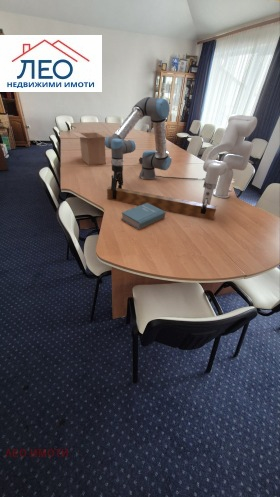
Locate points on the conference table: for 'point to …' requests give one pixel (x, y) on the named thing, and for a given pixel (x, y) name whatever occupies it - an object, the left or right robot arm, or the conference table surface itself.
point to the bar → (162, 203)
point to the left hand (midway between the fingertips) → (117, 196)
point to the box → (92, 146)
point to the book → (142, 215)
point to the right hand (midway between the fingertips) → (203, 211)
